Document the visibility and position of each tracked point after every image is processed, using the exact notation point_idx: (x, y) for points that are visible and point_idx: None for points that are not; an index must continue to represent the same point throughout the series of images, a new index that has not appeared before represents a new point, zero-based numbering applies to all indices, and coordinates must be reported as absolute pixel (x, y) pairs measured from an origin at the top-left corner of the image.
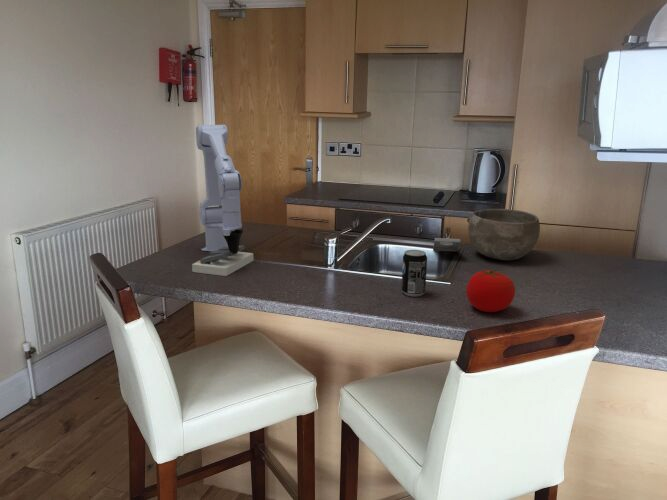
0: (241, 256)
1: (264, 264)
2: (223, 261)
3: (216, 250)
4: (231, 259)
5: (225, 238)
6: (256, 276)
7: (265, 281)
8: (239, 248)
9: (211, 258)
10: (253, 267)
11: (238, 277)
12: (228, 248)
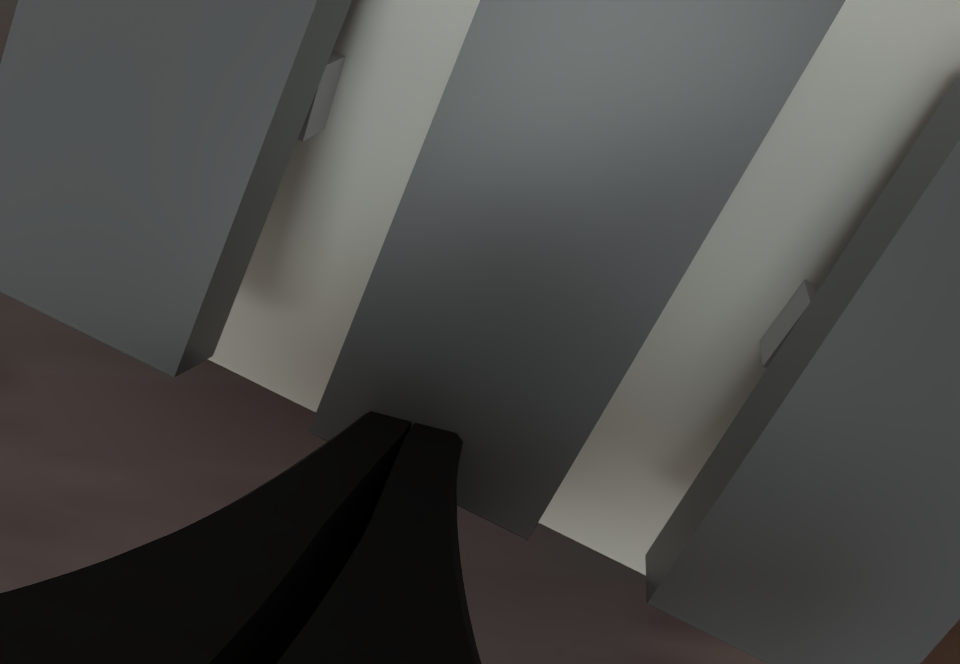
0: (672, 502)
1: (608, 661)
2: (362, 207)
3: (805, 46)
4: None
5: (54, 593)
6: (161, 530)
7: (42, 579)
8: (659, 595)
9: (39, 13)
10: (485, 541)
11: (89, 360)
12: (829, 374)
